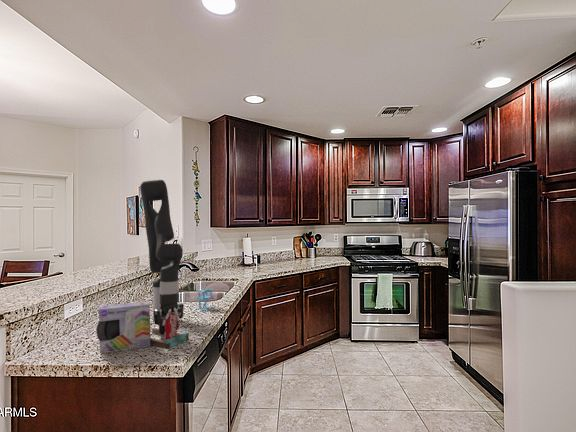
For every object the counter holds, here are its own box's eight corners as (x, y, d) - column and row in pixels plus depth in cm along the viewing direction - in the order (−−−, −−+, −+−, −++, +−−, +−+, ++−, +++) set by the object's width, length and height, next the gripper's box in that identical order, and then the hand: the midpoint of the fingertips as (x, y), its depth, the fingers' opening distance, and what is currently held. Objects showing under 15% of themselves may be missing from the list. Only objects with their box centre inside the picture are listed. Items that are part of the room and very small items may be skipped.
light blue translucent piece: (207, 307, 204) (206, 286, 204) (215, 309, 198) (214, 288, 198) (195, 309, 198) (195, 288, 198) (203, 311, 192) (203, 290, 193)
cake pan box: (96, 354, 132) (96, 308, 132) (98, 349, 137) (98, 304, 137) (150, 348, 138) (150, 303, 138) (150, 343, 143) (150, 300, 143)
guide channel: (154, 332, 157) (154, 325, 157) (188, 340, 146) (188, 332, 146) (132, 340, 147) (132, 333, 147) (167, 348, 136) (167, 341, 136)
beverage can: (178, 340, 146) (179, 311, 148) (173, 343, 140) (174, 312, 142) (163, 340, 146) (165, 311, 148) (158, 343, 140) (159, 312, 142)
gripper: (176, 288, 152) (176, 326, 152) (148, 293, 140) (148, 335, 139) (188, 289, 149) (188, 328, 148) (161, 295, 136) (161, 338, 136)
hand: (169, 331), depth 144 cm, fingers closed on beverage can, 6 cm apart
